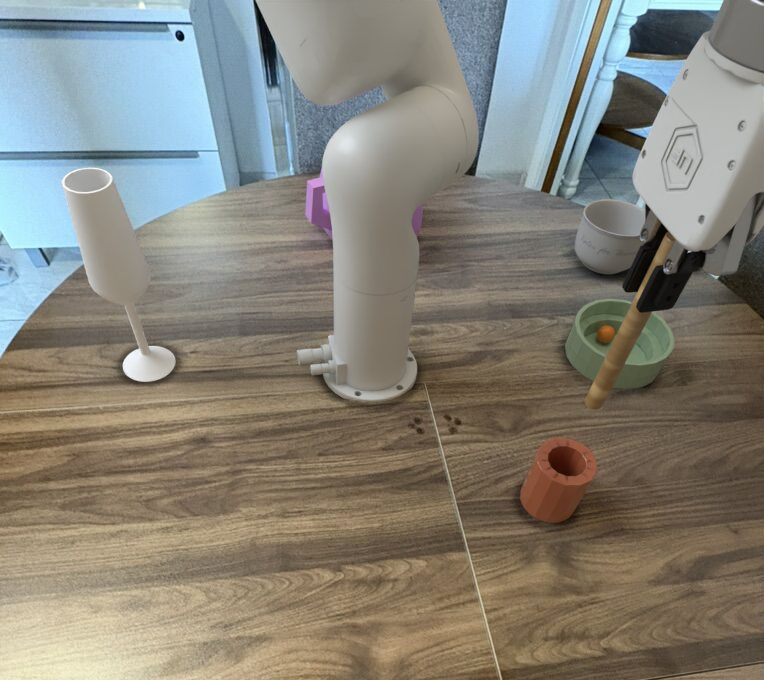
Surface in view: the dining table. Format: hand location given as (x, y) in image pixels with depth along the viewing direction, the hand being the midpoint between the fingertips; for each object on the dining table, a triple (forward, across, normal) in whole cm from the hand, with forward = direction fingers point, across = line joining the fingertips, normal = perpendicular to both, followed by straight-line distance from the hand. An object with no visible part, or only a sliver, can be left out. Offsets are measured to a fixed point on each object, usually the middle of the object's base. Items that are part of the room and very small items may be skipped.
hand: (646, 297), depth 51 cm
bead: (+25, -22, +17) cm, 38 cm away
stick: (+13, 0, 0) cm, 13 cm away
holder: (+27, +2, -1) cm, 27 cm away
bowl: (+27, -19, +17) cm, 37 cm away
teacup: (+27, -40, +27) cm, 55 cm away
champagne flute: (+27, -29, -45) cm, 60 cm away
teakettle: (+27, -55, -10) cm, 62 cm away
